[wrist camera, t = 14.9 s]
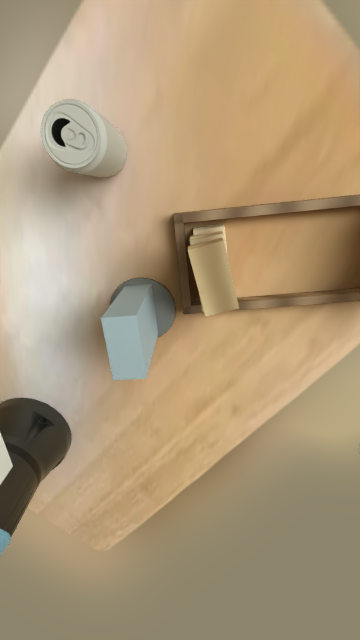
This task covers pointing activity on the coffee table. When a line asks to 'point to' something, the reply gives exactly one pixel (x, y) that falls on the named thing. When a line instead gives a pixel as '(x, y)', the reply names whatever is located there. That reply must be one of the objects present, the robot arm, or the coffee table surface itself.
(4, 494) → the robot arm
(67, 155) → the beverage can
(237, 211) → the rack
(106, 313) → the light blue block
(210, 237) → the offcut
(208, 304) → the offcut
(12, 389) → the coffee table surface
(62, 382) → the coffee table surface
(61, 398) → the coffee table surface
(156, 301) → the coaster
